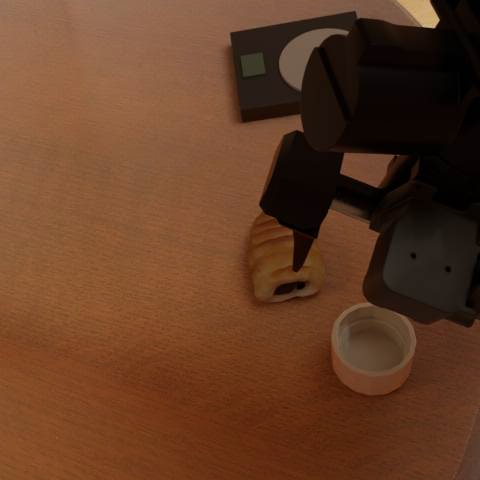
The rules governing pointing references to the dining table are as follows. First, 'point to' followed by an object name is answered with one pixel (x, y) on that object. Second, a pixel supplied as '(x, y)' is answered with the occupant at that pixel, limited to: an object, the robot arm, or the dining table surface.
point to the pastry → (281, 263)
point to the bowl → (372, 349)
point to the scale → (279, 63)
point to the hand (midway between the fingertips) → (355, 290)
